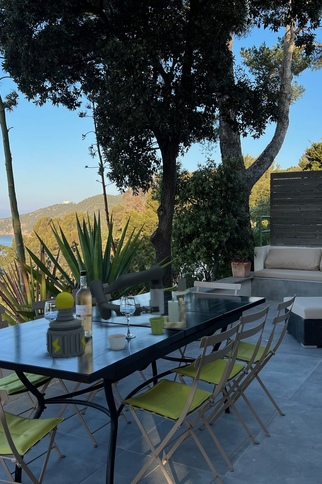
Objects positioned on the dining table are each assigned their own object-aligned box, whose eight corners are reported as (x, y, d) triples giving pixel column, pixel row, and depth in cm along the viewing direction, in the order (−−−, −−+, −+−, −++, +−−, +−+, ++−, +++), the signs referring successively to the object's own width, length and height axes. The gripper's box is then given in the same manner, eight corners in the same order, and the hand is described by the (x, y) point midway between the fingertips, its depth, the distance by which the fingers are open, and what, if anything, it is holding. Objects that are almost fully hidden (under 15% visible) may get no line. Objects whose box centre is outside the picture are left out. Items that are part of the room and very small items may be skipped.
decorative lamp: (58, 347, 252) (56, 289, 251) (92, 349, 247) (90, 289, 246) (39, 357, 234) (36, 294, 233) (75, 359, 229) (72, 295, 228)
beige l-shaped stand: (164, 328, 290) (163, 304, 290) (162, 320, 313) (161, 298, 313) (186, 327, 291) (185, 303, 290) (183, 320, 314) (182, 298, 313)
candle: (126, 345, 252) (126, 333, 251) (125, 350, 243) (125, 337, 242) (108, 346, 251) (108, 334, 251) (107, 351, 242) (107, 338, 242)
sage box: (169, 325, 300) (168, 299, 299) (168, 323, 304) (168, 298, 304) (178, 324, 300) (178, 299, 299) (178, 323, 305) (177, 298, 304)
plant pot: (153, 336, 271) (153, 320, 270) (146, 333, 279) (145, 318, 279) (168, 334, 275) (168, 318, 275) (160, 331, 283) (160, 316, 283)
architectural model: (193, 309, 353) (192, 282, 352) (159, 309, 359) (158, 282, 358) (202, 301, 390) (201, 276, 389) (171, 300, 396) (170, 276, 396)
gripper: (132, 306, 294) (159, 305, 294) (132, 302, 308) (158, 301, 308) (132, 318, 294) (159, 317, 295) (133, 314, 308) (159, 313, 309)
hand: (159, 309), depth 302 cm, fingers open, 8 cm apart
